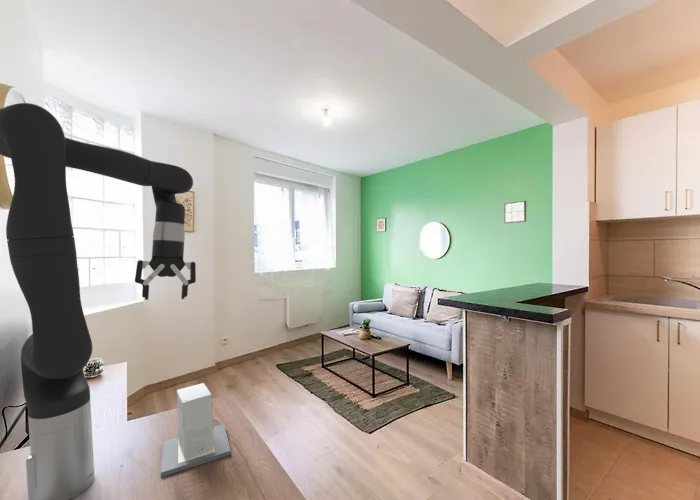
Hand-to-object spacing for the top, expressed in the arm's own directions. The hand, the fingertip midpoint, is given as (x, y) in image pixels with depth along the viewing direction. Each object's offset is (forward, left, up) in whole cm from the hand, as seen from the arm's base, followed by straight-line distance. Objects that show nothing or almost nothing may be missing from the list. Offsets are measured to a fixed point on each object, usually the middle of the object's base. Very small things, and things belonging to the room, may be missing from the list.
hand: (165, 299), depth 86 cm
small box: (+6, -16, -33) cm, 38 cm away
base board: (+6, -17, -34) cm, 38 cm away
